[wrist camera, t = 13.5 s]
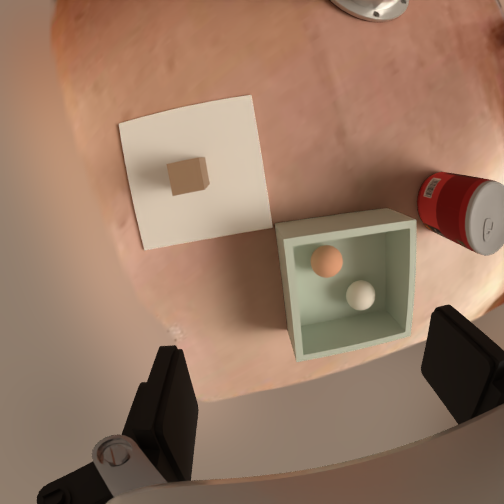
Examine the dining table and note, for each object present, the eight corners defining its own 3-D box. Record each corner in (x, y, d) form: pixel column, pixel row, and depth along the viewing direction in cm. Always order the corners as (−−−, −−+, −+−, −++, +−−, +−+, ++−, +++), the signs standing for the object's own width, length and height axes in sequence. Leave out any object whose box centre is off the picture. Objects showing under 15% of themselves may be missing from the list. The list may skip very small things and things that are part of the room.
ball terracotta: (306, 243, 36) (313, 253, 32) (336, 239, 36) (346, 248, 32) (308, 273, 37) (315, 285, 34) (338, 268, 37) (347, 279, 34)
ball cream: (341, 278, 37) (351, 290, 34) (368, 273, 37) (380, 284, 34) (342, 304, 38) (351, 318, 35) (368, 299, 38) (379, 312, 35)
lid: (121, 124, 32) (97, 118, 25) (250, 96, 32) (254, 82, 25) (146, 247, 37) (128, 267, 30) (271, 225, 37) (280, 241, 30)
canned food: (416, 235, 37) (467, 262, 27) (412, 173, 35) (467, 183, 24) (459, 226, 37) (511, 249, 27) (457, 169, 35) (513, 178, 24)
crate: (274, 223, 36) (283, 239, 29) (387, 207, 36) (416, 219, 29) (287, 330, 40) (296, 362, 33) (387, 310, 40) (410, 336, 33)
